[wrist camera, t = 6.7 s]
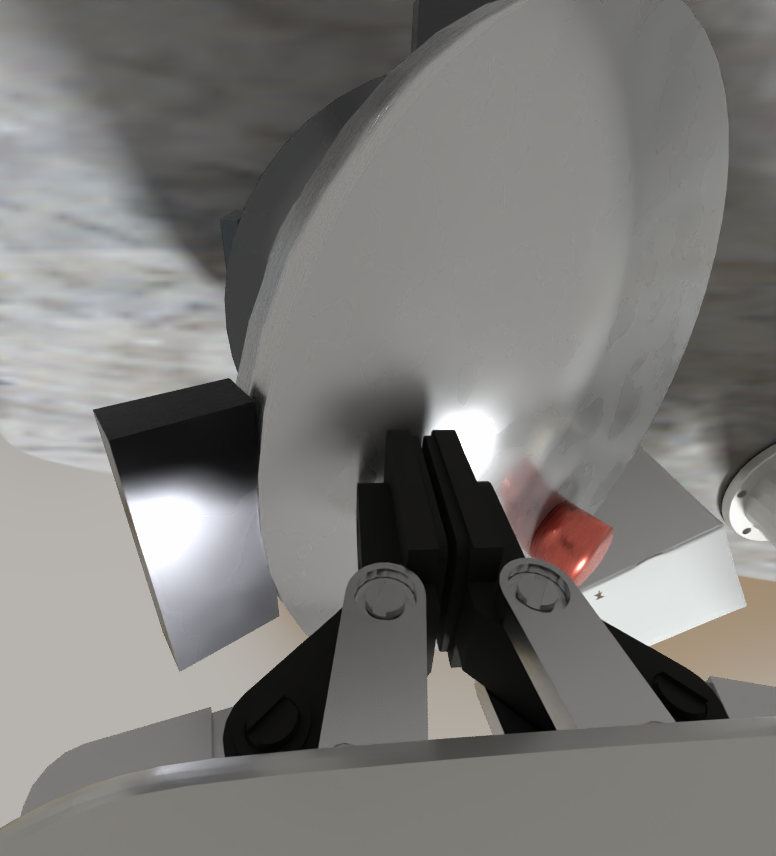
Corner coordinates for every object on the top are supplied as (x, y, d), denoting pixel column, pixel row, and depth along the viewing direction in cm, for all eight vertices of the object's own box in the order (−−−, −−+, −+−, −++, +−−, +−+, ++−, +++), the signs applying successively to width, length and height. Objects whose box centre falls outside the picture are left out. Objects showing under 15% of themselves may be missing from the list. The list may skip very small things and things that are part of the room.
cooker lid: (750, 62, 17) (874, 52, 15) (595, 505, 28) (654, 539, 25) (-138, -319, 4) (-250, -867, 2) (208, 778, 15) (255, 897, 13)
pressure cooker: (623, 62, 27) (803, 5, 16) (536, 426, 39) (607, 525, 29) (232, 32, 25) (153, -56, 14) (270, 428, 37) (243, 535, 27)
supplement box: (538, 516, 45) (618, 663, 32) (500, 452, 40) (575, 593, 27) (628, 472, 43) (752, 609, 30) (598, 400, 38) (728, 524, 26)
